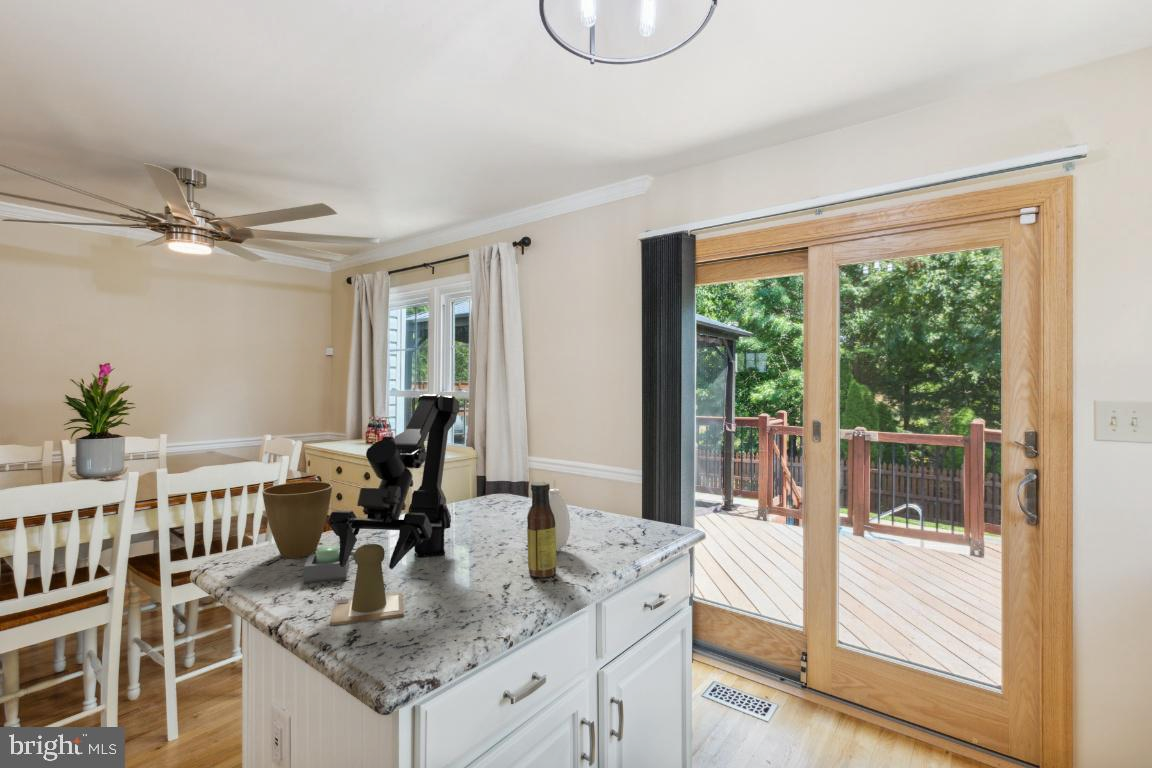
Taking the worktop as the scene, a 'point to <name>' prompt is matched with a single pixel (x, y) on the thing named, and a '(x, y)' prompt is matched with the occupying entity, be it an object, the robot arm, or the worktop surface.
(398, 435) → the robot arm
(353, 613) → the tan rectangular board
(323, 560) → the button
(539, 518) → the sauce bottle
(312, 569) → the button housing
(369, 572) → the cork
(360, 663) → the worktop surface
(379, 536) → the worktop surface
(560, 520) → the white vase
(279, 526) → the plant pot
